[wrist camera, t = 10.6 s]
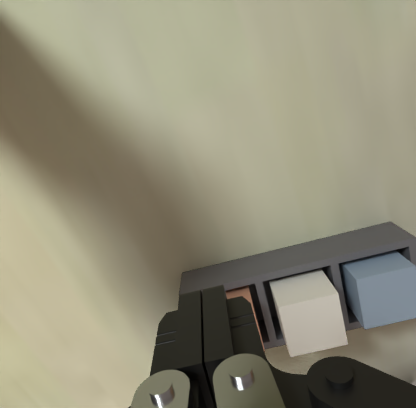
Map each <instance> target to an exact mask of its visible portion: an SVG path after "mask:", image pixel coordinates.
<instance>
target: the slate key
mask: <svg viewBox="0 0 416 408" xmlns="http://www.w3.org/2000/svg"><path fill="white" fill-rule="evenodd" d="M339 269H340V274H341V280H342V285H343V290H344V296H345V301H346V304H347V305H348V306H349V308H350V309H351V311H352V312H353V313H354V315H355V316H356V318H357V319H358V321H359V322H360V323H361V325H362V326H363V328H364V329H369V328H374V327H378V326H383V325H387V324H392V323H396V322H400V321H405V320H409V319H414V318H416V266H415V265H414V264H413V263H411V262H410V261H409V260H407V259H406V258H405V257H403V256H402V255H401V254H400V253H398V252H397V251H396V250H392V251H388V252H384V253H380V254H375V255H371V256H367V257H363V258H359V259H355V260H350V261H346V262H342V263H339Z"/></svg>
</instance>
